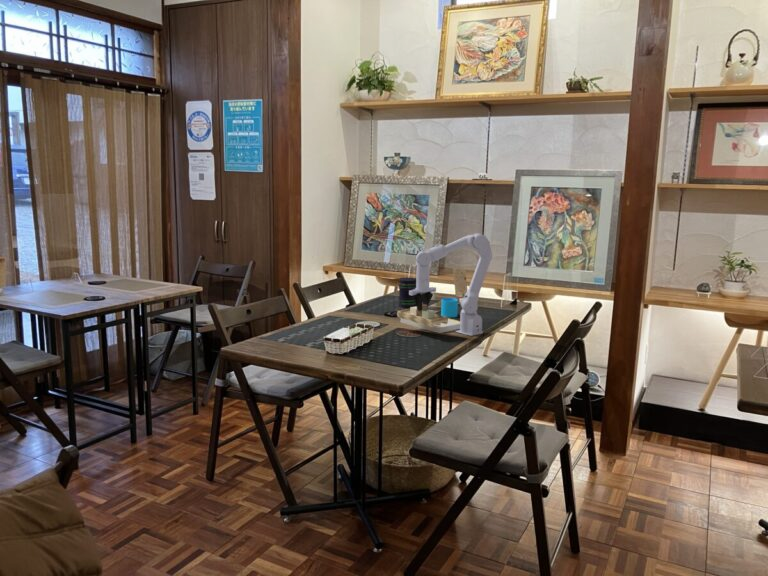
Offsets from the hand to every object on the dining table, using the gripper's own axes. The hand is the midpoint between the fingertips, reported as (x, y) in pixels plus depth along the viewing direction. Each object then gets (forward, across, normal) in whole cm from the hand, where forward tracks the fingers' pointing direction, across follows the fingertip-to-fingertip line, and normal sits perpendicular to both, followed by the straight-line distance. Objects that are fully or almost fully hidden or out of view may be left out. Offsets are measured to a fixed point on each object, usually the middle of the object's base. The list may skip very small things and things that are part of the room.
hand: (422, 309), depth 274 cm
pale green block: (+3, 0, +4) cm, 5 cm away
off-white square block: (+3, 0, -4) cm, 5 cm away
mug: (+11, -36, -17) cm, 42 cm away
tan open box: (+5, 0, 0) cm, 5 cm away
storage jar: (+11, -32, -45) cm, 57 cm away
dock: (+10, -13, -7) cm, 18 cm away
